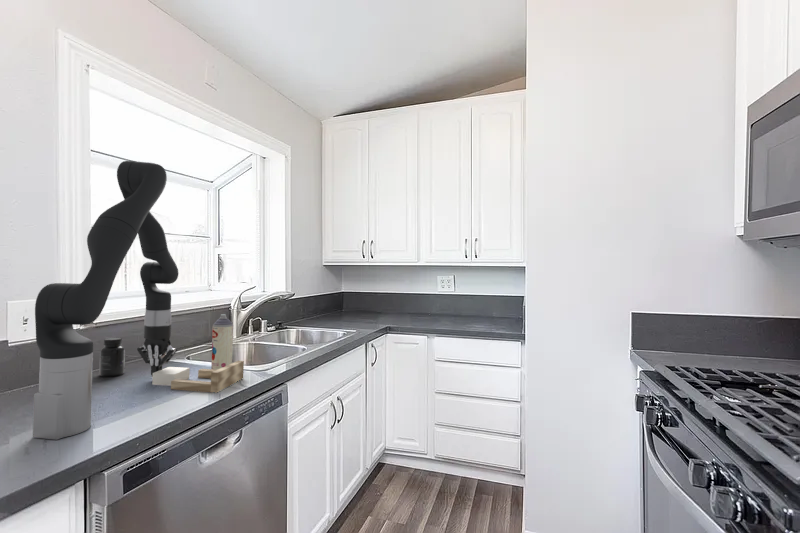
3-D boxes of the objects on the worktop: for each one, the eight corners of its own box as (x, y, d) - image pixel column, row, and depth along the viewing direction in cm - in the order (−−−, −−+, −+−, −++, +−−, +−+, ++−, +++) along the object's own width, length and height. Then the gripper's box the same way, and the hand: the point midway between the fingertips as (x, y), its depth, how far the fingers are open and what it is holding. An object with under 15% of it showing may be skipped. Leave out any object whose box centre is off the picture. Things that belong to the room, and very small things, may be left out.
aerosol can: (209, 368, 146) (211, 313, 145) (230, 366, 149) (231, 313, 149) (212, 373, 140) (214, 316, 140) (233, 371, 144) (235, 315, 143)
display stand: (216, 392, 119) (217, 372, 119) (170, 389, 122) (171, 369, 122) (243, 378, 134) (243, 361, 134) (201, 375, 136) (202, 358, 136)
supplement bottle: (128, 374, 136) (129, 338, 136) (104, 378, 130) (105, 341, 130) (118, 370, 140) (119, 336, 140) (95, 374, 134) (96, 338, 134)
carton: (174, 387, 125) (174, 374, 125) (152, 385, 125) (152, 373, 125) (189, 379, 133) (189, 367, 133) (168, 378, 133) (168, 366, 133)
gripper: (130, 324, 127) (128, 378, 128) (168, 326, 126) (166, 381, 126) (148, 320, 135) (146, 372, 135) (184, 322, 133) (182, 374, 133)
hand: (156, 376), depth 130 cm, fingers closed
